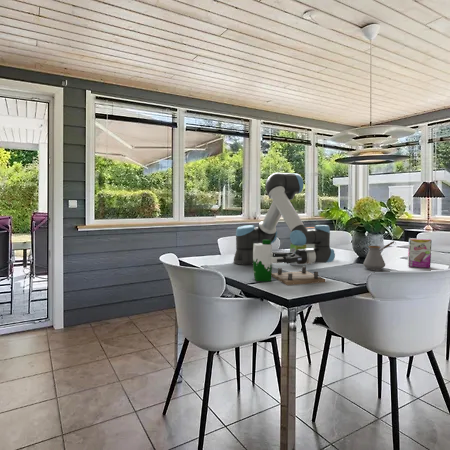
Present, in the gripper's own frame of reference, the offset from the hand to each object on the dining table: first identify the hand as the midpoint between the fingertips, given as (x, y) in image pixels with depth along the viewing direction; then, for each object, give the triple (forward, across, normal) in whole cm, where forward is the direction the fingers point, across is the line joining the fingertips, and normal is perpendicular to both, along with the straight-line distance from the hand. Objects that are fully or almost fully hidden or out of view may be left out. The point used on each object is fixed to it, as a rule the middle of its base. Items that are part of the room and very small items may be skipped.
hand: (265, 258), depth 176 cm
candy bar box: (-96, +7, -11) cm, 97 cm away
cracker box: (-55, +51, -11) cm, 76 cm away
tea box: (-36, +38, -11) cm, 53 cm away
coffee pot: (-73, +10, -11) cm, 75 cm away
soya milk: (+1, +1, -11) cm, 11 cm away
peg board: (-16, -3, -11) cm, 20 cm away
